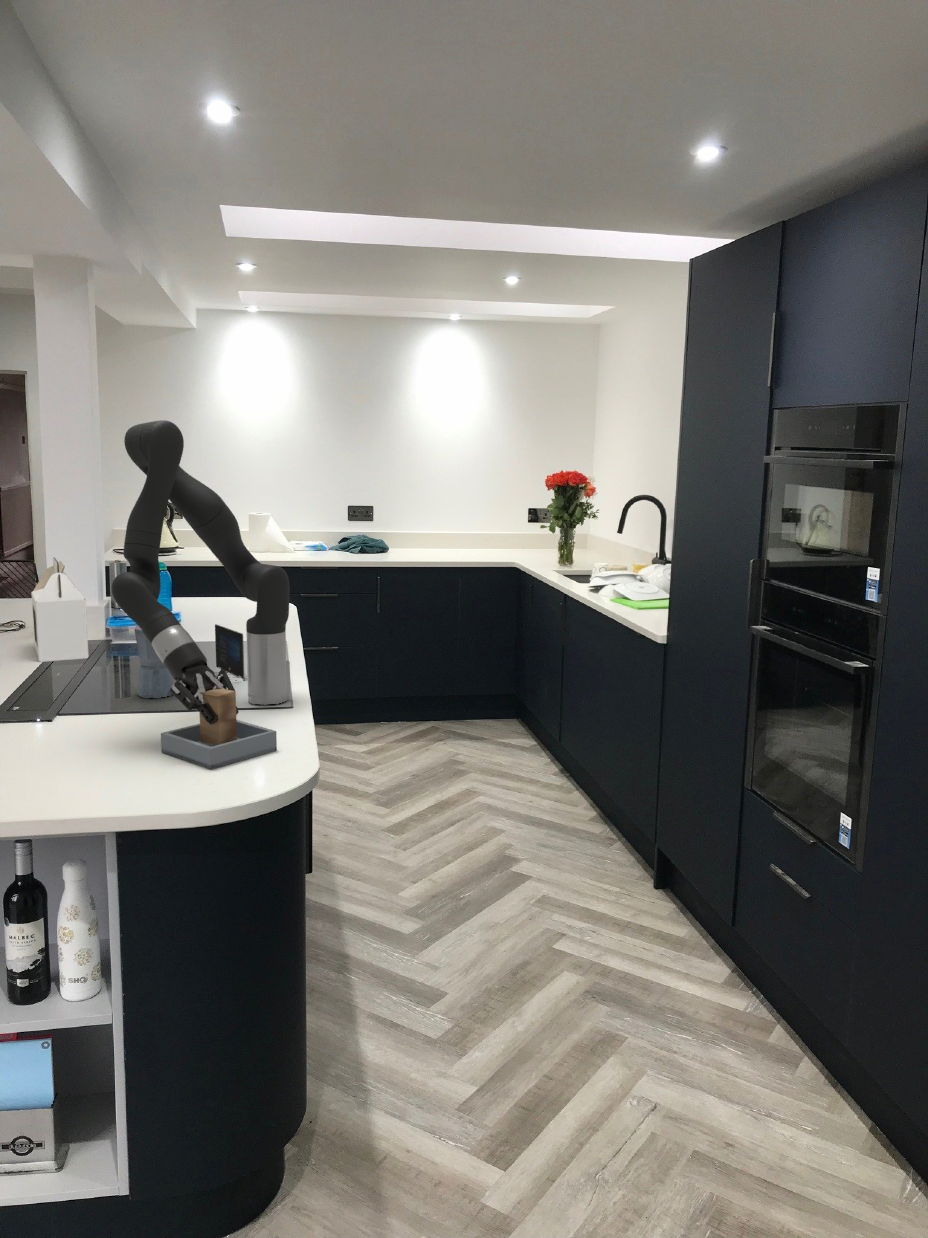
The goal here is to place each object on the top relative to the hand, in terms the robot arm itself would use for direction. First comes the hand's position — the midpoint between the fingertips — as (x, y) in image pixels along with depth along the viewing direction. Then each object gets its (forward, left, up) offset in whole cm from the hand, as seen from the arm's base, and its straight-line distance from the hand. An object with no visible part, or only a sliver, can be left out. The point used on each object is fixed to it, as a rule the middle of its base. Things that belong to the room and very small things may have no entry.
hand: (225, 718), depth 188 cm
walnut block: (0, -2, -5) cm, 5 cm away
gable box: (-28, -115, -7) cm, 119 cm away
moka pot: (-18, -52, -7) cm, 55 cm away
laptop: (-37, -57, -8) cm, 69 cm away
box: (0, -2, -7) cm, 7 cm away
